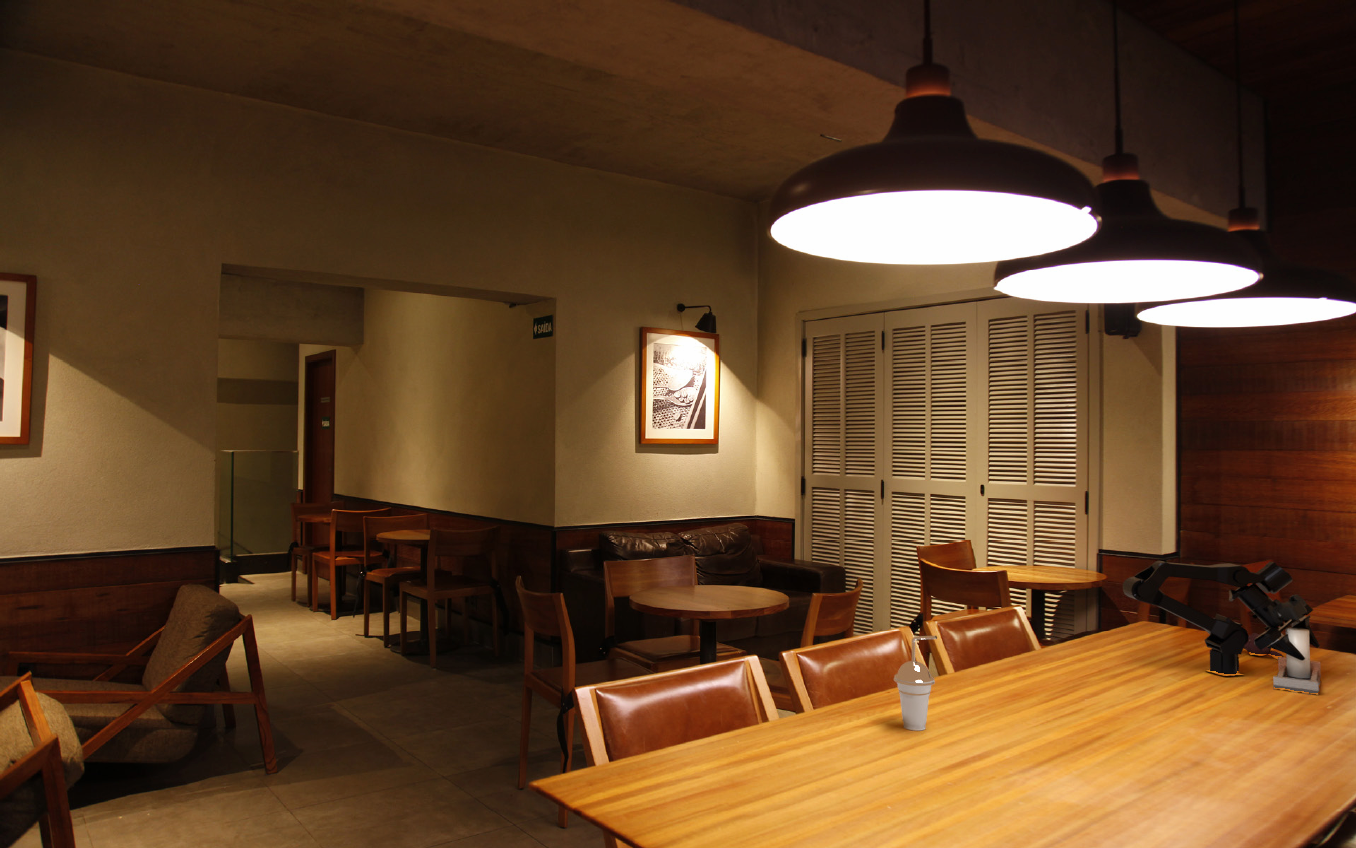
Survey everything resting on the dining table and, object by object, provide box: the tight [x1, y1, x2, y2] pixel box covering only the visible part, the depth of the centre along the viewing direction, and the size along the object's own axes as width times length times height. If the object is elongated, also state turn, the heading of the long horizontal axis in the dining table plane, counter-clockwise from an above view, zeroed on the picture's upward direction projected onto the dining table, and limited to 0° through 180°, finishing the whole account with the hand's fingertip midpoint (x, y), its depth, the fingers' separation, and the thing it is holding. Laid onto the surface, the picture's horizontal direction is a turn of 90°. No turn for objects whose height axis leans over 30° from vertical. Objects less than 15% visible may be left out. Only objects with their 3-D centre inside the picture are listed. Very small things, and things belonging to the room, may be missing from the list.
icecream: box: [1243, 632, 1284, 657], centre depth 254 cm, size 7×7×15 cm
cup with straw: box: [893, 635, 938, 732], centre depth 183 cm, size 8×9×20 cm
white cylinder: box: [1285, 627, 1311, 678], centre depth 225 cm, size 5×5×12 cm
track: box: [1272, 656, 1322, 693], centre depth 221 cm, size 21×9×4 cm, turn 142°
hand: (1311, 653), depth 222 cm, fingers open, 7 cm apart
